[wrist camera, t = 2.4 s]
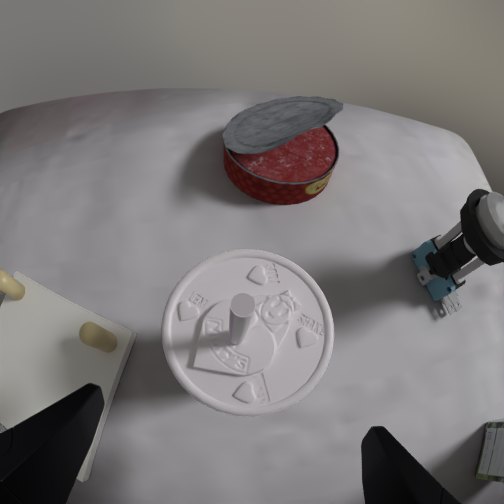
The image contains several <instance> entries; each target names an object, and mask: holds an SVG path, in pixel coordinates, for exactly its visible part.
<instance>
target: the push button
mask: <svg viewBox="0 0 504 504" xmlns="http://www.w3.org/2000/svg"><path fill="white" fill-rule="evenodd" d="M460 217H461V221H460V222H459V223H458V224H457V225H456V226H455V227H453V228H452V229H451V230H450V231H449V232H448V233H447V234H446V235H444V236H441V235H439V236H437V237H434V238H432V239H430V240H428V241H426V242H424V243H423V244H422V245H421V246H420V247H419V248H417V249H416V250H415V251H414V252H413V253H412V254H411V257H412V259H413V261H414V262H415V264H416V266H417V268H418V270H419V272H420V273H418V274H417V277H418V279H419V281H420V283H421V285H425V284H426V285H427V287H428V290H429V292H430V294H431V296H432V298H433V300H434V301H438V300H439V299H441V300H442V302H443V304H445V306H446V308H447V310H448V312H449V314H450V315H451V314H452V313H453V312H455V310H456V311H458V310H460V309H461V308H462V307H461V305H460V302H459V300H458V298H457V296H458V295H457V293H456V291H455V290H456V289H458V288H459V287H460V286H462V285H463V284H465V277H464V276H466V275H468V274H469V273H471V272H472V271H474V270H475V269H477V268H478V267H480V266H481V265H483V264H484V263H486V264H488V265H490V266H491V265H495V264H498V263H501V262H504V197H503V196H502V195H501V194H499V193H496V192H491V193H490V192H488V191H486V190H483V189H476V190H474V191H473V192H472V193H471V194H470V195H469V196H468V198H467V201H466V203H465V204H464V206H463V207H462V209H461V210H460ZM461 232H462V233H463V234H462V235H461V236H460V237H458V238H457V239H456V240H454V241H452V240H453V239H454V238H456V237H457V236H458V235H459V234H460V233H461ZM451 241H452V242H451ZM448 243H449V244H448ZM476 255H477V256H478V258H477V259H475V260H474V261H472V262H471V263H470V264H468V265H467V266H465V267H464V268H462V269H461V267H462V266H464V265H465V264H466V263H468V262H469V261H471V260H472V258H474V257H475V256H476ZM421 276H422V277H423V279H424V281H423V280H422V279H421ZM456 302H457V303H458V307H456V305H455V303H456ZM449 306H451V307H452V310H450V309H449ZM453 306H454V307H453ZM454 308H455V309H454Z"/></svg>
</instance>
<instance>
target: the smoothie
mask: <svg viewBox="0 0 504 504" xmlns="http://www.w3.org/2000/svg"><path fill="white" fill-rule="evenodd" d="M161 335H162V345H163V350H164V354H165V357H166V360H167V363H168V365H169V367H170V369H171V371H172V373H173V375H174V376H175V378H176V379H177V381H178V382H179V383H180V385H181V386H182V387H183V388H184V389H185V390H186V391H187V392H188V393H189V394H190V395H191V396H192V397H194V398H195V399H196V400H198V401H199V402H201V403H202V404H204V405H206V406H208V407H209V408H212V409H214V410H216V411H219V412H222V413H225V414H230V415H234V416H243V417H254V416H263V415H268V414H272V413H276V412H279V411H281V410H284V409H286V408H288V407H290V406H292V405H294V404H295V403H297V402H298V401H300V400H301V399H302V398H304V397H305V396H306V395H307V394H308V393H309V392H310V391H311V390H312V389H313V388H314V387H315V386H316V384H317V383H318V382H319V381H320V379H321V377H322V376H323V374H324V372H325V370H326V368H327V366H328V364H329V361H330V358H331V355H332V350H333V344H334V324H333V317H332V314H331V310H330V307H329V304H328V302H327V300H326V298H325V295H324V294H323V292H322V290H321V289H320V287H319V286H318V285H317V283H316V282H315V281H314V280H313V278H312V277H311V276H310V275H309V274H308V273H307V272H305V271H304V270H303V269H302V268H301V267H299V266H298V265H296V264H295V263H293V262H292V261H290V260H288V259H286V258H284V257H282V256H279V255H277V254H273V253H270V252H266V251H261V250H252V249H241V250H232V251H227V252H223V253H220V254H217V255H214V256H212V257H209V258H207V259H205V260H204V261H202V262H200V263H199V264H197V265H196V266H194V267H193V268H192V269H191V270H189V271H188V272H187V273H186V274H185V275H184V276H183V277H182V278H181V280H180V281H179V282H178V283H177V285H176V286H175V288H174V289H173V291H172V293H171V295H170V296H169V299H168V301H167V304H166V306H165V310H164V313H163V319H162V328H161Z"/></svg>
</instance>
